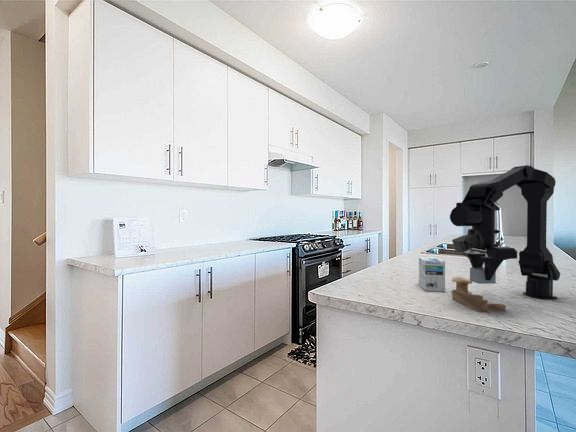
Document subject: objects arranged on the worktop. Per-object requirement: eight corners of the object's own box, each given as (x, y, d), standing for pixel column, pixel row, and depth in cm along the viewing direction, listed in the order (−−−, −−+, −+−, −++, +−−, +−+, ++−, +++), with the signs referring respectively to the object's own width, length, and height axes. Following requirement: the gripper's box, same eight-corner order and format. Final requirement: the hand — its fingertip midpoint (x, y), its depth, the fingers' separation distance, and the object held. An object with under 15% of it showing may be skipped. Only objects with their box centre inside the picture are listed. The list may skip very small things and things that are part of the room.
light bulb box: (445, 292, 104) (445, 261, 104) (424, 291, 106) (424, 260, 106) (436, 285, 115) (437, 256, 115) (417, 284, 116) (418, 256, 116)
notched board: (477, 299, 96) (477, 289, 96) (507, 311, 84) (507, 300, 84) (452, 299, 96) (452, 290, 96) (478, 311, 84) (479, 301, 84)
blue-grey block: (485, 280, 92) (485, 267, 92) (495, 283, 88) (495, 269, 88) (469, 280, 92) (470, 267, 92) (479, 283, 88) (479, 269, 88)
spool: (464, 291, 106) (464, 277, 105) (476, 296, 100) (476, 281, 100) (448, 291, 105) (448, 277, 105) (459, 296, 99) (459, 281, 99)
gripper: (439, 224, 99) (438, 272, 99) (479, 227, 80) (478, 286, 80) (471, 224, 100) (471, 272, 100) (519, 227, 81) (518, 286, 81)
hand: (482, 278), depth 90 cm, fingers closed on blue-grey block, 4 cm apart
